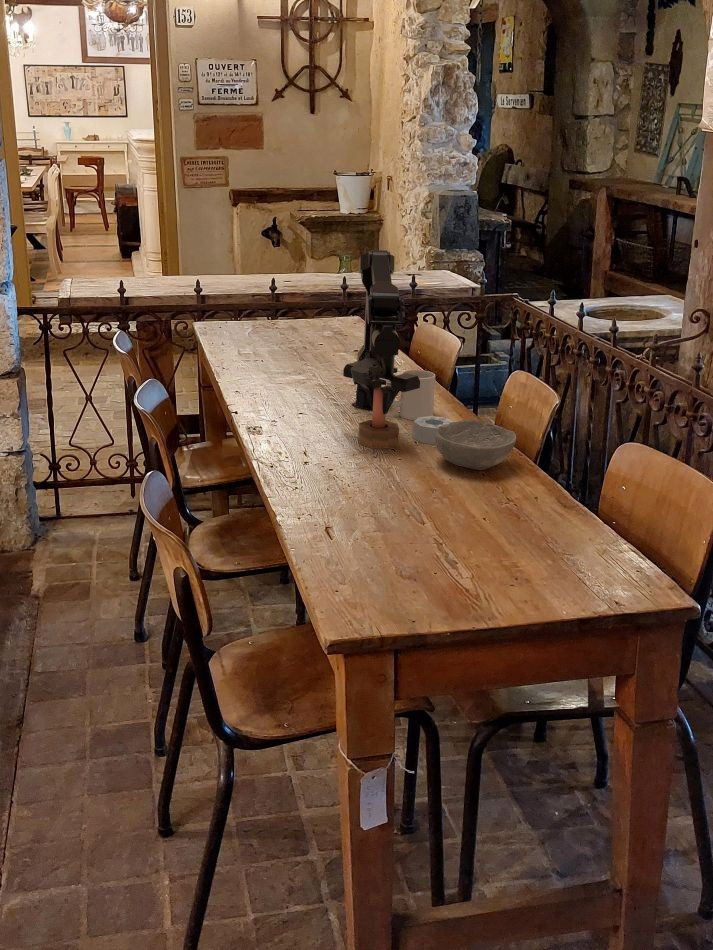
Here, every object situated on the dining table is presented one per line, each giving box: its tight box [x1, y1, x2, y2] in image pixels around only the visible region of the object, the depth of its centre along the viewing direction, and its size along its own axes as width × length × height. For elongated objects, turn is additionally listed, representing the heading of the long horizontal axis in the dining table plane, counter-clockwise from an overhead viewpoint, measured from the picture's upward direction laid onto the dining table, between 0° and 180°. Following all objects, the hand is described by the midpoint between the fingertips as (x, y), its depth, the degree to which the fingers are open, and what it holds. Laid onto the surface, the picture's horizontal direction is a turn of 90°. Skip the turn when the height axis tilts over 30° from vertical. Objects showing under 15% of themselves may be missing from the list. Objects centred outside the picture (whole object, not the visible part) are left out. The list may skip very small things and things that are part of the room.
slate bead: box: [412, 415, 454, 446], centre depth 244 cm, size 9×9×4 cm
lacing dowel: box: [371, 387, 387, 428], centre depth 238 cm, size 3×3×9 cm
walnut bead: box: [358, 419, 400, 449], centre depth 240 cm, size 9×9×4 cm
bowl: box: [435, 419, 517, 471], centre depth 226 cm, size 18×18×8 cm
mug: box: [391, 369, 436, 421], centre depth 259 cm, size 12×8×11 cm
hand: (379, 412), depth 238 cm, fingers closed on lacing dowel, 3 cm apart
